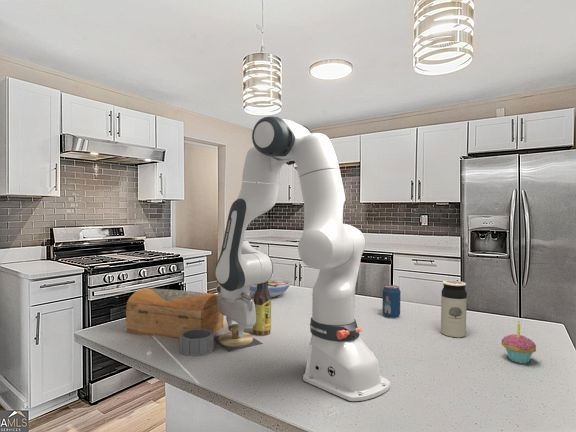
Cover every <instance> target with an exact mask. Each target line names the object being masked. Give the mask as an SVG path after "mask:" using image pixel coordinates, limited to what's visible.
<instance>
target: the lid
mask: <svg viewBox="0 0 576 432" xmlns="http://www.w3.org/2000/svg"><path fill="white" fill-rule="evenodd" d="M238 328H239V326H238V323H234V324H233V325H232V331H229V332H227V333H224V334H221V335H219V336H220V337H219V338H218V342H219V344H221V345H223V346H227V347H241V346H246V345H248V344H250V343H252V342H253V338H254V336H253V334H251V333H248V332H245V331H244V335H243V336H241V337H239V336H238V335H237V330H238Z"/></svg>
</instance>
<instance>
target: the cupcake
mask: <svg viewBox="0 0 576 432" xmlns="http://www.w3.org/2000/svg"><path fill="white" fill-rule="evenodd" d="M516 330H517V333H516V334H515V333H514V334H508V335H506V336H504V337H503V338H502V339H501V343H500V344H501V346H503V347H504V349H505V350H506V353H507V357H508V359H509V360H510V359H511V360H512V362H514V361H515V362H514V363H517V362H521V363H520V364H528V363H529V361H530V359H531V357H532V355H533V354H534V353H535V352H537V344H536V342H534V341H533V340H532V339H530V338H529V337H526V336H525V335H521V322H517V329H516ZM511 360H510V361H511ZM527 362H528V363H527Z"/></svg>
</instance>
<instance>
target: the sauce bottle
mask: <svg viewBox="0 0 576 432" xmlns="http://www.w3.org/2000/svg"><path fill="white" fill-rule="evenodd" d="M252 301H253V302H254V304H255V311H256V323H255V325H254V326H252V333H253V334H252V335H255V336H258V337H259V336H260V337H264V336H269V335H270V334H271V329H272V298H271V296H270V294H269V290H268V281H267V282H264V283H260V284H257V290H256V292H255V293H254V294H253V300H252Z"/></svg>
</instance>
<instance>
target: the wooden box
mask: <svg viewBox="0 0 576 432" xmlns="http://www.w3.org/2000/svg"><path fill="white" fill-rule="evenodd" d="M217 294H218V293H217ZM217 294H216V293H210V292H209V293H208V292H198V291H190V290H181V289H180V290H178V289H166V288H165V289H163V288H153V287H152V288H151V287H150V288H149V287H148V288H147V287H145V288H141V289H138V290H137V291H135V292H133V293H132V294H131V295H130V296H129V298H128V300H127V302H126V307H125V309H126V310H125V327H126V332H127V333H130V334H132V333H133V334H139V335H144V336H145V335H146V336H160V337H169V338H176V339H179V336H180V334H181V333H182V332H184V331H187V330H191V329H209V330H212V331H213V332H214V334H216V333H217V332H218V331H220V330H221V329H223V328H224V318H225V317H224V315H223V314H221V313H219V311H218V307H217Z"/></svg>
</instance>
